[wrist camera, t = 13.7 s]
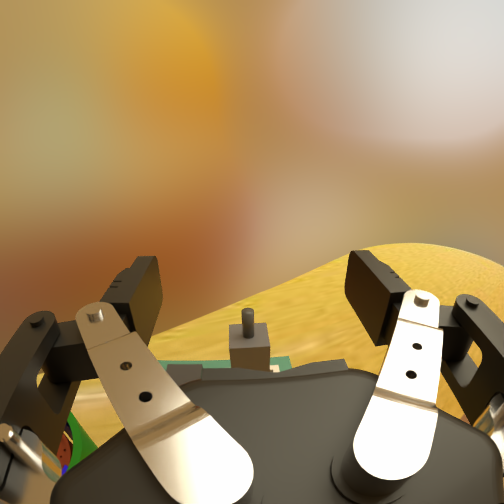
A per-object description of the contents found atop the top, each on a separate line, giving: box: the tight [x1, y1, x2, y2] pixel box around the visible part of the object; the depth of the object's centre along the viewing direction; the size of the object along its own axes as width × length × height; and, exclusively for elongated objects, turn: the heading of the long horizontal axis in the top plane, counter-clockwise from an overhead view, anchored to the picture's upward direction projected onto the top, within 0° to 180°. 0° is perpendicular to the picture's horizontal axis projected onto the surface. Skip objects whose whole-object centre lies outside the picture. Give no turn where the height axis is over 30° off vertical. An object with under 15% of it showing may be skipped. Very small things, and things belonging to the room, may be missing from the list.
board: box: [157, 356, 292, 386], centre depth 34 cm, size 20×14×4 cm
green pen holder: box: [56, 411, 98, 476], centre depth 13 cm, size 10×9×20 cm
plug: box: [229, 308, 270, 372], centre depth 31 cm, size 4×5×14 cm
